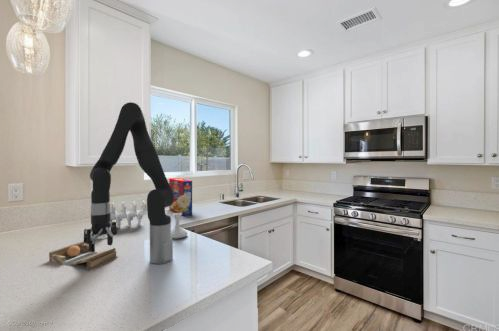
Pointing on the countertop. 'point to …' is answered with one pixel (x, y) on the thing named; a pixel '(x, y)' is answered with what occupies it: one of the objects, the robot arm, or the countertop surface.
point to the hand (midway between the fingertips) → (101, 248)
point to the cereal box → (180, 189)
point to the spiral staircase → (128, 213)
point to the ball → (73, 251)
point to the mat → (80, 256)
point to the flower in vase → (177, 230)
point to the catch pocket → (65, 252)
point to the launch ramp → (98, 258)
